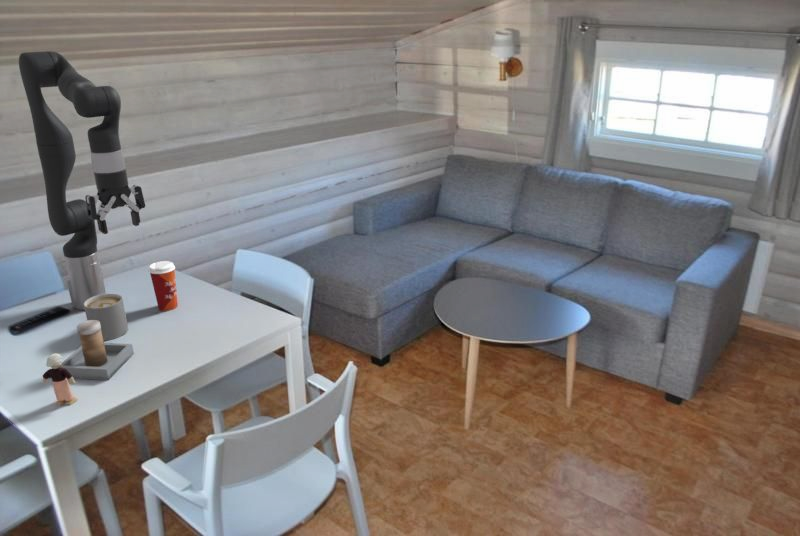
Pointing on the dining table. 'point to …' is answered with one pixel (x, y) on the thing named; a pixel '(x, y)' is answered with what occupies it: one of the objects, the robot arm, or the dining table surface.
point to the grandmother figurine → (59, 380)
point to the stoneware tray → (116, 360)
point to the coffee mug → (107, 314)
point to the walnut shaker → (92, 343)
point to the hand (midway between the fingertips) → (120, 229)
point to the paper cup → (164, 284)
